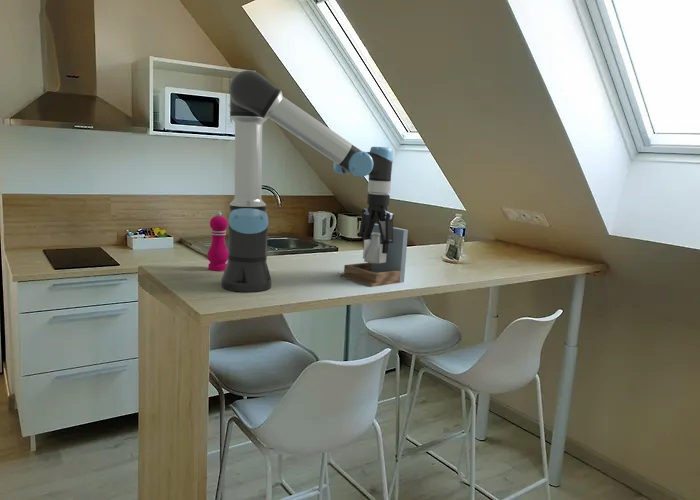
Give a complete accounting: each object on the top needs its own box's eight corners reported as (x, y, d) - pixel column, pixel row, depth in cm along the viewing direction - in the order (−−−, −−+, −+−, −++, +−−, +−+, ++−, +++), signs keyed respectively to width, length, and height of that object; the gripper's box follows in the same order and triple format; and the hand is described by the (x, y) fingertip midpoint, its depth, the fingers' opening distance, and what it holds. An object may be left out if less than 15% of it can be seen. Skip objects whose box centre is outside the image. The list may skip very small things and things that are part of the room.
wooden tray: (371, 286, 189) (372, 274, 188) (340, 276, 201) (341, 265, 200) (399, 282, 197) (400, 271, 197) (368, 273, 209) (368, 262, 209)
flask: (367, 259, 204) (369, 231, 202) (387, 261, 201) (389, 233, 199) (360, 262, 197) (362, 233, 195) (380, 265, 194) (382, 235, 193)
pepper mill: (202, 268, 201) (204, 210, 197) (220, 266, 206) (222, 210, 203) (214, 272, 196) (215, 213, 193) (232, 270, 201) (234, 212, 198)
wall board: (399, 282, 197) (403, 230, 194) (368, 273, 209) (371, 223, 206) (403, 282, 199) (408, 229, 196) (372, 272, 211) (375, 223, 208)
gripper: (408, 196, 190) (403, 265, 194) (366, 190, 205) (362, 254, 209) (391, 196, 185) (386, 266, 189) (350, 190, 200) (346, 256, 204)
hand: (374, 260), depth 199 cm, fingers closed on flask, 7 cm apart
